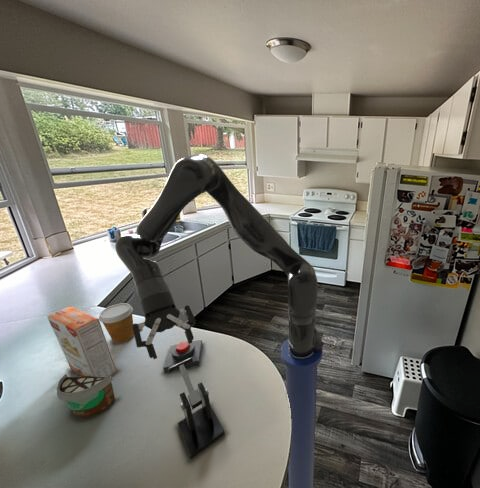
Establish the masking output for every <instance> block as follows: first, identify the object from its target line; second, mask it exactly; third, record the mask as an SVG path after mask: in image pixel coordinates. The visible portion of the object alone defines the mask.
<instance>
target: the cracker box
mask: <svg viewBox="0 0 480 488" xmlns="http://www.w3.org/2000/svg"><path fill="white" fill-rule="evenodd" d="M47 319H48V321H49V324H50V327H51V329H52V330H53V333H54V335H55V337H56V339H57V342H58V344H59V346H60V348H61V351H62V352H63V355H64V357H65V359H66V362H67V364H68V367H69V368H70V370H72V371H73V372H75V373H77V374H78V375H80V377H82V376H93V377H107V376H108V375H109V374H110V376H111V377H112V376H113V375H115V374H116V373H117V372H118V370H117V367H116V364H115V362H114V361H115V360H114V358H113V356H112V352H111V350H110V347H109V344H108V342H107V338H106V335H105V333H104V330H103V327H102V325H101V321H100V320H99V317H96V316H93V315H91V314H90V313H87V312H85V311H83V310H81V309H78V308H76V307H74V306H72V305H70V306H68V307H65V308H63V309H61V310H58V311H56V312H53V313H51V314H49V315H47Z"/></svg>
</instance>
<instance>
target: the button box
mask: <svg viewBox="0 0 480 488" xmlns="http://www.w3.org/2000/svg"><path fill="white" fill-rule="evenodd" d="M186 342H188V340H187V341H186ZM178 344H179V343H177V344H171V345H169V349H168V352H167V355H166V358H165V361H164V364H163V372H164V374H166V373H169V370H168V368H170V367H172V366H174V365H176V364H179V363H181V362H183V361H185V360H187V359H189V358H191V357H192V359H193V362H191V363H189V364H187V365H185V369H186V370H187V369H190V368H195V367H200V363H201V357H202V352H203V347H204V346H203V345H204V343H203V339H199V340H192V343H190V344H189V343H188V344H189V350H188V351H186V352H184V353H178V352H177V349H176V346H177V345H178ZM176 371H180V369H177V370H175V371H174V372H176Z"/></svg>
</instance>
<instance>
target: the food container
mask: <svg viewBox="0 0 480 488" xmlns="http://www.w3.org/2000/svg"><path fill="white" fill-rule="evenodd" d="M113 381H114V378H113V376H112V375H111V376H110V374H109V375H108V376H107V377H93V376H67V374H66V373H65V374H64V375H63V376H62V377H61V378H60V380H59V381H58V383H57V385H56V386H57V387H56V395H57V398H58V399H59V400H61V401H63V402H66V405H68V407H69V409H70V410H71V411H72V413H73V414H74V415H75V417H76V418H78V419H81V420H82V419H90V418H92V417H96V416H98V415H100V414H101V413H103V412H104V411H106V410H108V409H109V408H110V407H111V406H112V405H113V404H114V403H115V402H116V396H115V391H114V387H113Z"/></svg>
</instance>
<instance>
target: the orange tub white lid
mask: <svg viewBox="0 0 480 488" xmlns="http://www.w3.org/2000/svg"><path fill="white" fill-rule="evenodd" d="M133 312H134V308H133V306H131V305H130V304H129V303H124V302H122V303H116V304H113V305H109V306H108V307H105V308H104V309H103V310H101V312H100V313H99V316H98V319H99V321H100V323H102V324H103V326H104V328H105V329H106V331H107V334H108V335H109V337H110V339H111V340H112V342H113V343H114V344H121V343H126V342H127V341H130V340H131V339H132V338H133V337H135V336H134V332H133V327H132V326H133V324H134V318H133V317H134V316H133Z"/></svg>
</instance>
